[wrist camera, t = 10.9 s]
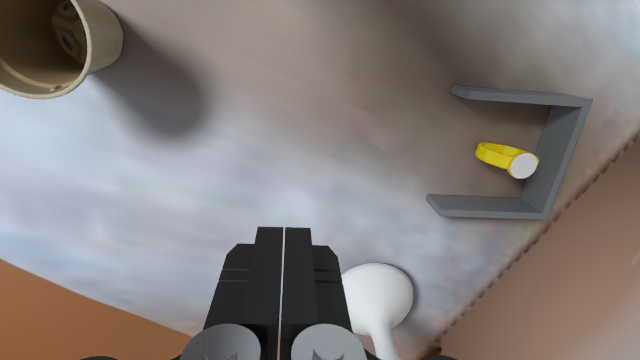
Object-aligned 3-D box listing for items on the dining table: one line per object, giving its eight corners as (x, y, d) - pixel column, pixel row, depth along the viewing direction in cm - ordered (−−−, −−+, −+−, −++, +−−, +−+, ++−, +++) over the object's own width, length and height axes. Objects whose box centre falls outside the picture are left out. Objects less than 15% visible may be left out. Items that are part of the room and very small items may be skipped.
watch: (464, 156, 39) (488, 174, 33) (472, 133, 38) (498, 148, 32) (513, 164, 39) (545, 183, 34) (522, 141, 38) (556, 157, 33)
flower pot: (110, 105, 33) (53, 125, 25) (15, 37, 31) (-83, 35, 23) (161, 30, 31) (116, 26, 23) (64, -52, 28) (-26, -88, 20)
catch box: (451, 85, 35) (470, 90, 31) (562, 93, 36) (593, 99, 33) (426, 200, 40) (439, 216, 37) (524, 204, 42) (546, 219, 38)
